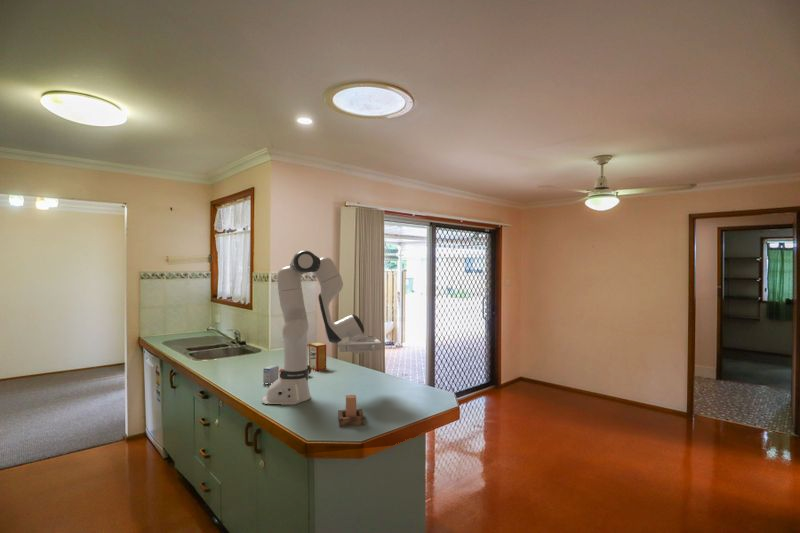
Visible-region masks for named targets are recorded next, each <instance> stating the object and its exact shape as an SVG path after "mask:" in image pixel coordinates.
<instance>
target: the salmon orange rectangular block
mask: <svg viewBox="0 0 800 533" xmlns="http://www.w3.org/2000/svg"><path fill="white" fill-rule="evenodd" d="M356 409H357V395H356V394H347V395H345V410H346V417H355V416H356Z"/></svg>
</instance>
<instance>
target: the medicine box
mask: <svg viewBox="0 0 800 533" xmlns="http://www.w3.org/2000/svg"><path fill="white" fill-rule="evenodd" d="M279 367H280V366H279V365H274V364H273V365H269V366H266V367H264V368H263V370H262V371H263V375H262V376H263V380H262V381H263V383H268V384H271V383H273V382H275V381H276V380H277V379H278V378H279V376H280V375H279V374H280V372H279V370H280V368H279Z"/></svg>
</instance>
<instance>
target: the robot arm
mask: <svg viewBox="0 0 800 533" xmlns="http://www.w3.org/2000/svg"><path fill="white" fill-rule="evenodd" d="M308 273H313V274H314V276H316V279H317V281H318V283H319V285H320V293H319V294H318V296H317V297H318V303H319V307H320V313H321V316H322V317H321V318H322V320H323V323H324V330H325V331H324V332H325V335H326V339H327V340H328V341H329V343H333V344H337V345H336V346H337V347H338V352H340V353H348V352H349V353H351V352H352V353H355V354H358V355H359V354H363V353H368V352H373V351H382V350H383V344H382V343H383V342H382V341H381V340H380V339H378V338H377V336H370V335H369V336H368V335H364V334H365V328H364V324H363V322H362V320H361V319H360V318H359V316H357V315H356V314H353V313H352V314H350V315H348V316H345V317H343V318H341V319H338V320H337V321H334V322H333V321H332V317H331V312H330V303H331V302H332V301H333V300H334V299H335V298H336V297H337V295H339V294H340V292H341V291H342V289H343V286H344V282H343V279H342V276H341V273H340V271H339V270H338V267H337V266H336V264H335V263H334V261H333V260H332V259H331V258H330V257H329V256H324V257H319V256H317V255H316V254H314V253H313V252H311V251H310V250H307V249H306V250H300V251H297V252H296V253H295V254H294V255H293V256H292V259H291V262H290V264H289V266H288V265H287V266H284V267H282V268H280V269H279V271H278V272H277V291H278V298H279V304H280V305H279V306H280V309H281V312H282V316H283V321H284V325H283V327H282V345H283V346H282V347H283V368H279V375H278V376H279V377H278V379H277V380H276V381H275V382H273V383H272V384H271V385H269V386H268V389H267V391H266V394H265V395H263V397H262V399H261V403H262V402H263V403H267V404H281V405H298V404H300V403H303V402H306V401H308V400H310V399H311V398H312V395H311V392H310V385H309V375H310V374H309V370H308V367H307V365H309V351H308V331H309V322H308V316H307V315H308V314H307V312H306V307H305V306H306V304H305V300H304V295H303V287H302V286H303V285H302V275H303V274H308ZM347 338H348V341H343V340H345V339H347ZM263 403H262V404H263Z"/></svg>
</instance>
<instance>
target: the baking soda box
mask: <svg viewBox="0 0 800 533" xmlns="http://www.w3.org/2000/svg"><path fill="white" fill-rule="evenodd" d="M308 345H309V346H308V350H309V351H308V365H309V366H310V368H311V370H312V369H313V370H312V371H314V370H315V372H321V370H322V371H326V370H327V344H325V343H324V342H323V343H321V342H313V343H309V344H308ZM325 369H326V370H325Z"/></svg>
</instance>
